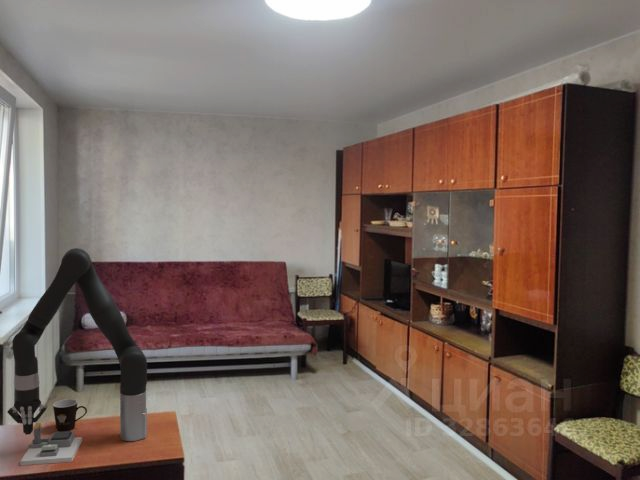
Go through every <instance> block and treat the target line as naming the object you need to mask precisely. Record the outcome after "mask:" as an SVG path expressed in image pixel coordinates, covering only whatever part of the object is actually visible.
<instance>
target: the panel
mask: <svg viewBox="0 0 640 480" xmlns="http://www.w3.org/2000/svg"><path fill="white" fill-rule="evenodd" d="M54 433H55V432H53V433H52V434H51V436H50V437H46V438H45V437H44V438H41V439H42V442H41V444H33V443H34V438H33V439H32V443H31V444H29V445H28V450H27V451H26V452H25V453H24V455H23V457H22V458H21V459H20V465H22V466H33V464H34V465H44V464H56V463H58V464H59V463H71V462H73V460H74V459H75V456H76V454H77V453H78V450H79V448H80V445H81V444H82V441H83V437H82V436H81V437H80V436H79V437H75V431H71V436H70V437H69V439H67V440H53V441H52V437H53V435H54ZM53 444H57V448H56V449H54V450H41V447H42V446H43V445H53Z"/></svg>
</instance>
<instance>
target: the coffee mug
mask: <svg viewBox="0 0 640 480" xmlns="http://www.w3.org/2000/svg"><path fill="white" fill-rule="evenodd" d="M52 407H53V409H52V410H53V415H54V422H55V428H56V432H63V431H73V430H75V428H76V422H77V421H79V420H81V419H83V417H85V416H86V415H87V413H88V409H87V408H86V406H83V405H80V406H78V400H77V399H75V398H74V399H73V398H69V399H68V398H67V399H61V400H57V401H55V402H53V404H52ZM81 408H82V409H84V414H83V415H81V416H80V417H78V418H77V412H78V410H79V409H81Z"/></svg>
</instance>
